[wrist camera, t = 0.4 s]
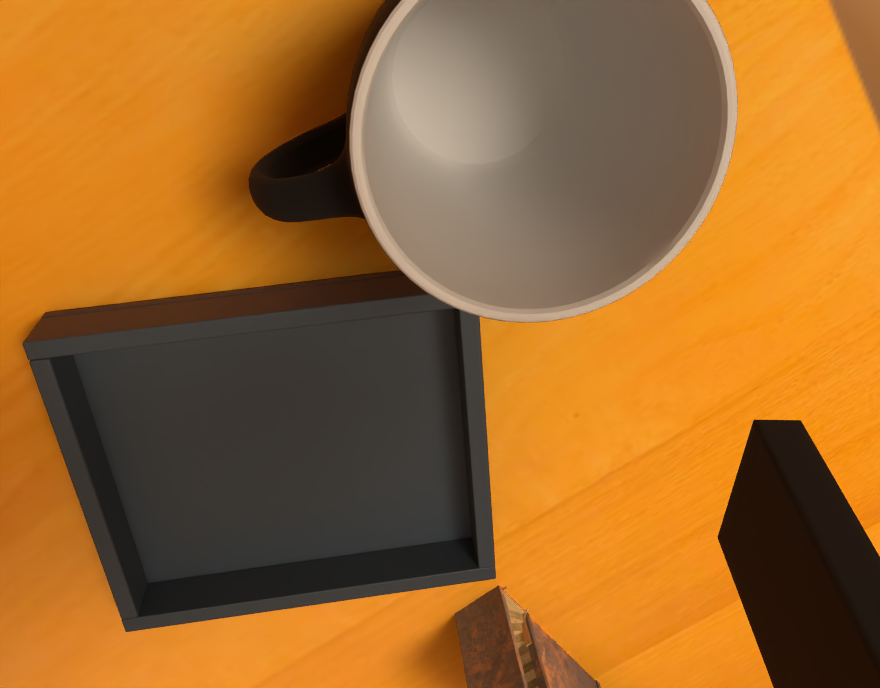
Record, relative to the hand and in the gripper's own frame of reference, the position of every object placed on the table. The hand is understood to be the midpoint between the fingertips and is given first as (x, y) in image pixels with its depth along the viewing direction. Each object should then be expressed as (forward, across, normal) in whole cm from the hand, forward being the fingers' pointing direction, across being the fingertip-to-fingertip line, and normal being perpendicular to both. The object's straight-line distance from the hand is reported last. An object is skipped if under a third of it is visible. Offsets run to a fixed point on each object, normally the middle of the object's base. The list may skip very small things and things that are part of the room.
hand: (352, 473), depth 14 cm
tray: (+15, -4, -12) cm, 20 cm away
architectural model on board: (+15, +7, -26) cm, 31 cm away
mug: (+17, +1, +1) cm, 17 cm away
